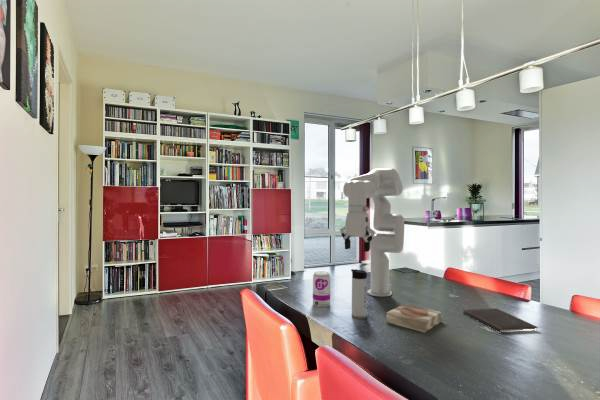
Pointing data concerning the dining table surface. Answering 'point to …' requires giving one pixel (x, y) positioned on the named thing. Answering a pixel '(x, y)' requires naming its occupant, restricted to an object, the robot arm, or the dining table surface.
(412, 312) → the cream panel copper ring
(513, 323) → the hardcover book
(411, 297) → the dining table surface
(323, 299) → the supplement can
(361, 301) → the travel mug
